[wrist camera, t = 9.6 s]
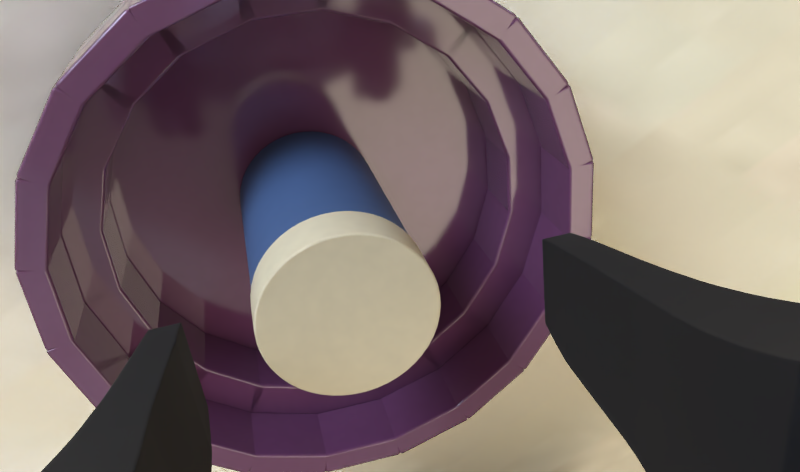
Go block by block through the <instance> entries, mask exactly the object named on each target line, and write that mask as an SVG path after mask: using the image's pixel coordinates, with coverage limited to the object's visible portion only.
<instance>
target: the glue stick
mask: <svg viewBox="0 0 800 472" xmlns="http://www.w3.org/2000/svg"><path fill="white" fill-rule="evenodd" d="M240 205H241V213H242V221H243V229H244V237H245V245H246V253H247V261H248V269H249V277H250V285H251V293H250V299H251V311H252V320H253V328H254V334H255V339H256V343H257V346H258V349H259V351H260V353H261V355H262V357H263V358H264V360H265V362H266V363H267V364H268V366H269V367H270V368H271V369H272V370H273V371H274V372H275V373H276V374H277V375H278V376H279V377H280V378H282V379H283V380H285V381H286V382H288V383H289V384H291V385H293V386H295V387H297V388H299V389H302V390H305V391H308V392H311V393H316V394H320V395H330V396H344V395H352V394H358V393H362V392H367V391H370V390H373V389H376V388H378V387H380V386H383V385H385V384H387V383H389V382H391V381H392V380H394V379H396V378H397V377H399V376H400V375H402V374H403V373H404V372H406V371H407V370H408V369H409V368H410V367H411V366H412V365H414V364H415V363H416V362H417V360H418V359H419V358H420V357H421V356H422V355H423V353H424V352H425V350H426V349H427V348H428V346H429V344H430V342H431V341H432V339H433V337H434V334H435V332H436V329H437V326H438V322H439V317H440V309H441V299H440V291H439V287H438V283H437V281H436V278H435V276H434V274H433V272H432V270H431V268H430V267H429V265H428V263H427V262H426V260H425V258H424V256H423V255H422V253H421V251H420V250H419V248H418V246H417V244H416V243H415V242H414V241H413V239H412V238H411V237H410V236H409V235H408V233H407V231H406V230H405V228H404V226H403V224H402V223H401V221H400V219H399V218H398V216H397V214H396V212H395V211H394V209H393V207H392V205H391V204H390V202H389V200H388V198H387V197H386V195H385V193H384V192H383V190H382V188H381V186H380V185H379V183H378V181H377V179H376V178H375V176H374V174H373V172H372V171H371V169H370V167H369V166H368V164H367V162H366V160H365V159H364V157H363V156H362V155H361V154H360V152H359V151H358V150H356V149H355V148H354V147H353V146H352V145H351V144H349V143H348V142H346V141H345V140H343V139H341V138H339V137H336V136H334V135H331V134H327V133H322V132H313V131H312V132H299V133H293V134H290V135H286V136H284V137H281V138H279V139H277V140H275V141H273V142H272V143H270V144H269V145H267V146H266V147H265V148H263V149H262V150H261V151H260V152H259V153H258V154H257V155H256V156H255V157H254V159H253V160H252V161H251V163H250V164H249V166H248V168H247V170H246V172H245V174H244V177H243V180H242V184H241V189H240Z"/></svg>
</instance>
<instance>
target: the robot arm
mask: <svg viewBox="0 0 800 472" xmlns="http://www.w3.org/2000/svg"><path fill="white" fill-rule="evenodd" d="M542 251H543V279H544V306H545V324H546V326H547V328H548V329H549V331H550V333H551V335H552V337H553V339H554V341H555V343H556V345H557V346H558V348H559V350H560V352H561V353H562V355H563V357H564V359H565V360H566V362H567V363H568V365H569V366H570V368H571V369H572V370H573V372H574V373H575V374H576V376H577V377H578V378H579V380H580V381H581V382H582V384H583V385H584V386H585V388H586V389H587V390H588V392H589V393H590V394H591V396H592V397H593V398H594V400H595V401H596V402H597V403H598V405H599V406H600V407H601V409H602V410H603V411H604V413H605V414H606V415H607V417H608V418H609V419H610V421H611V422H612V423H613V424H614V426H615V427H616V428H617V430H618V431H619V432H620V434H621V435H622V436H623V438H624V439H625V440H626V442H627V443H628V445H629V446H630V448H631V449H632V450H633V452H634V453H635V455H636V456H637V458H638V459H639V461H640V463H641V464H642V466H643V468H644V469H645V471H646V472H800V303H795V302H790V301H784V300H778V299H772V298H767V297H762V296H757V295H752V294H748V293H744V292H740V291H736V290H732V289H728V288H724V287H720V286H716V285H713V284H709V283H706V282H702V281H699V280H696V279H693V278H690V277H687V276H684V275H681V274H678V273H675V272H672V271H669V270H666V269H664V268H661V267H658V266H656V265H653V264H650V263H648V262H645V261H643V260H640V259H638V258H635V257H632V256H630V255H628V254H625V253H623V252H620V251H618V250H615V249H613V248H610V247H608V246H605V245H603V244H601V243H598V242H595V241H593V240H590V239H588V238H585V237H582V236H579V235H576V234H573V233H567V234H563V235H558V236H554V237H550V238H545V239H542ZM211 468H212V445H211V433H210V422H209V411H208V405H207V402H206V399H205V396H204V393H203V389H202V386H201V383H200V380H199V377H198V374H197V370H196V367H195V364H194V361H193V358H192V355H191V352H190V348H189V345H188V342H187V339H186V336H185V333H184V330H183V326H182V323H177V324H173V325H168V326H164V327H160V328H155V329H151V330H148V331H147V333H146V334H145V336H144V337H143V339H142V340H141V342H140V343H139V345H138V346H137V348H136V349H135V351H134V352H133V354H132V356H131V357H130V359H129V360H128V362H127V363H126V365H125V367H124V368H123V370H122V371H121V373H120V374H119V376H118V377H117V379H116V380H115V382H114V383H113V385H112V386H111V388H110V389H109V390H108V392H107V393H106V395H105V396H104V398H103V399H102V401H101V402H100V403H99V405H98V406H97V407H96V409H95V410H94V411H93V412H92V414H91V415H90V416H89V418H88V419H87V420H86V422H85V423H84V424H83V425H82V427H81V428H80V429H79V431H78V432H77V433H76V434H75V435H74V437H73V438H72V439H71V440H70V441H69V442H68V443H67V445H66V446H65V447H64V448H63V449H62V450H61V451H60V452H59V453H58V454H57V455H56V457H55V458H54V459H53V460H52V461H51V462H50V463H49V464H48V465H47V466H46V467H45V468H44V469H43V470H42V471H41V472H211Z"/></svg>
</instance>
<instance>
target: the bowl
mask: <svg viewBox="0 0 800 472" xmlns="http://www.w3.org/2000/svg"><path fill="white" fill-rule="evenodd" d="M312 131H313V132H322V133H327V134H331V135H334V136H336V137H339V138H341V139H343V140H345V141H346V142H348V143H349V144H351V145H352V146H353V147H354V148H355V149H356V150H358V151H359V152H360V154H361V155H362V156H363V157H364V159H365V160H366V162H367V164H368V166H369V167H370V169H371V171H372V172H373V174H374V176H375V178H376V179H377V181H378V183H379V185H380V186H381V188H382V190H383V192H384V193H385V195H386V197H387V198H388V200H389V202H390V204H391V205H392V207H393V209H394V211H395V212H396V214H397V216H398V218H399V219H400V221H401V223H402V224H403V226H404V228H405V230H406V231H407V233H408V235H409V236H410V237H411V238H412V239H413V241H414V242H415V243H416V244H417V246H418V248H419V250H420V251H421V253H422V255H423V256H424V258H425V260H426V262H427V263H428V265H429V267H430V268H431V270H432V272H433V274H434V276H435V278H436V281H437V283H438V287H439V291H440V299H441V309H440V317H439V322H438V326H437V329H436V332H435V334H434V337H433V339H432V341H431V342H430V344H429V346H428V348H427V349H426V350H425V352H424V353H423V355H422V356H421V357H420V358H419V359H418V360H417V362H416V363H415V364H414V365H412V366H411V367H410V368H409V369H408V370H407V371H406V372H404V373H403V374H402V375H400V376H399V377H397V378H396V379H394V380H392V381H391V382H389V383H387V384H385V385H383V386H380V387H378V388H376V389H373V390H370V391H367V392H362V393H358V394H352V395H344V396H330V395H320V394H316V393H311V392H308V391H305V390H302V389H299V388H297V387H295V386H293V385H291V384H289V383H288V382H286V381H285V380H283V379H282V378H280V377H279V376H278V375H277V374H276V373H275V372H274V371H273V370H272V369H271V368H270V367H269V366H268V364H267V363H266V362H265V360H264V358H263V357H262V355H261V353H260V351H259V349H258V346H257V343H256V339H255V334H254V328H253V320H252V311H251V299H250V293H251V285H250V277H249V269H248V261H247V253H246V245H245V237H244V229H243V221H242V213H241V205H240V189H241V184H242V180H243V177H244V174H245V172H246V170H247V168H248V166H249V164H250V163H251V161H252V160H253V159H254V157H255V156H256V155H257V154H258V153H259V152H260V151H261V150H262V149H263V148H265V147H266V146H267V145H269V144H270V143H272V142H273V141H275V140H277V139H279V138H281V137H284V136H286V135H290V134H293V133H299V132H312ZM593 166H594V163H593V157H592V154H591V151H590V148H589V144H588V141H587V138H586V135H585V132H584V128H583V125H582V122H581V119H580V116H579V113H578V109H577V106H576V103H575V100H574V97H573V93H572V90H571V87H570V86H569V85H568V82H567V80H566V79H565V77H564V76H563V75H562V73H561V72H560V71H559V70H558V68H557V67H556V66H555V64H554V63H553V62H552V61H551V59H550V58H549V57H548V55H547V54H546V53H545V51H544V50H543V49H542V48H541V46H540V45H539V44H538V42H537V41H536V40H535V38H534V37H533V36H532V35H531V33H530V32H529V31H528V29H527V28H526V27H525V25H524V24H523V23H522V22H521V20H520V19H519V18H518V17H516V15H515V14H514V13H513V12H511V11H509V10H508V9H506V8H505V7H503V6H501V5H500V4H498V3H497V2H495V1H493V0H123V1H122V3H121V4H120V5H119V6H118V7H117V8H116V9H115V10H114V11H113V12H112V13H111V14H110V15H109V16H108V17H107V18H106V20H105V21H104V22H103V23H102V24H101V25H100V26H99V27H98V28H97V29H96V30H95V31H94V32H93V33H92V34H91V35H90V37H89V38H88V39H87V40H86V41H85V42H84V43H83V44H82V45H81V46H80V48H79V49H78V50H77V52H76V53H75V55H74V56H73V58H72V59H71V61H70V62H69V64H68V65H67V67H66V68H65V70H64V71H63V73H62V74H61V76H60V77H59V79H58V80H57V82H56V83H55V85H54V86H53V88H52V90H51V92H50V95H49V97H48V99H47V102H46V104H45V107H44V109H43V112H42V114H41V116H40V119H39V121H38V124H37V126H36V129H35V131H34V134H33V136H32V138H31V141H30V143H29V146H28V148H27V151H26V153H25V155H24V158H23V160H22V163H21V165H20V168H19V170H18V173H17V178H16V180H15V270H16V274H17V277H18V280H19V282H20V285H21V287H22V290H23V292H24V295H25V297H26V300H27V303H28V305H29V308H30V310H31V313H32V315H33V318H34V321H35V323H36V326H37V328H38V331H39V333H40V336H41V338H42V341H43V344H44V346H45V348H46V350H47V353H48V354H49V356H50V357H51V358H52V359H53V360H54V361H55V362H56V363H57V365H58V366H59V367H60V368H61V369H62V370H63V371H64V372H65V374H66V375H67V376H68V377H69V378H70V379H71V380H72V381H73V383H74V384H75V385H76V386H77V387H78V388H79V389H80V390H81V392H82V393H83V394H84V395H85V396H86V397H87V398H88V399H89V401H90V402H91V403H92V404H93V405H94V406H95V407H97V406H98V405H99V403H100V402H101V401H102V399H103V398H104V396H105V395H106V393H107V392H108V390H109V389H110V388H111V386H112V385H113V383H114V382H115V380H116V379H117V377H118V376H119V374H120V373H121V371H122V370H123V368H124V367H125V365H126V363H127V362H128V360H129V359H130V357H131V356H132V354H133V352H134V351H135V349H136V348H137V346H138V345H139V343H140V342H141V340H142V339H143V337H144V336H145V334H146V333H147V331H148V330H151V329H155V328H160V327H164V326H168V325H173V324H177V323H182V326H183V330H184V333H185V336H186V339H187V342H188V345H189V348H190V352H191V355H192V358H193V361H194V364H195V367H196V370H197V374H198V377H199V380H200V383H201V386H202V389H203V393H204V396H205V399H206V402H207V405H208V411H209V422H210V433H211V445H212V465H215V466H219V467H223V468H227V469H231V470H235V471H239V472H325V471H327V472H330V471H334V470H338V469H342V468H346V467H350V466H354V465H358V464H362V463H366V462H370V461H374V460H378V459H382V458H386V457H390V456H394V455H398V454H399V453H404V452H406V451H408V450H410V449H412V448H413V447H415V446H417V445H419V444H421V443H423V442H425V441H427V440H429V439H431V438H433V437H435V436H437V435H439V434H440V433H442V432H444V431H446V430H448V429H450V428H452V427H454V426H456V425H458V424H460V423H462V422H464V421H466V420H467V418H470V417H471V416H472V415H474V414H475V413H476V412H477V411H478V410H479V409H480V408H482V407H483V406H484V405H485V404H486V403H487V402H489V401H490V400H491V399H492V398H493V397H494V396H495V395H497V394H498V393H499V392H500V391H501V390H502V389H504V388H505V387H506V386H507V385H508V384H509V383H510V382H512V381H513V380H514V379H515V378H516V377H517V376H519V375H520V374H521V373H522V372H523V371H524V369H526V368H527V366H528V365H529V363H530V362H531V360H532V359H533V358H534V356H535V355H536V353H537V352H538V350H539V349H540V347H541V346H542V344H543V343H544V342H545V340H546V339H547V337H548V336H549V334H550V331H549V329H548V328H547V326H546V324H545V306H544V279H543V251H542V239H545V238H550V237H554V236H558V235H563V234H567V233H573V234H576V235H579V236H582V237H585V238H588V239H590V240H591V236H592V203H593Z"/></svg>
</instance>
